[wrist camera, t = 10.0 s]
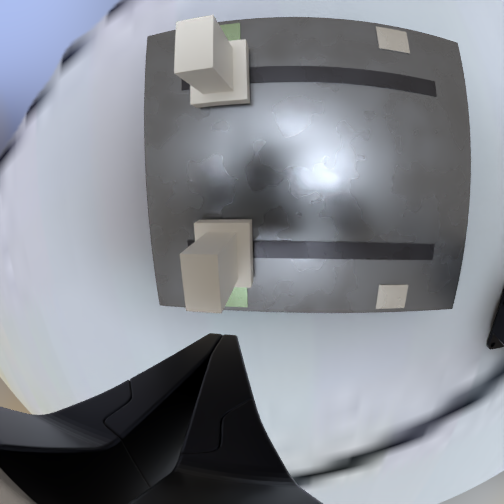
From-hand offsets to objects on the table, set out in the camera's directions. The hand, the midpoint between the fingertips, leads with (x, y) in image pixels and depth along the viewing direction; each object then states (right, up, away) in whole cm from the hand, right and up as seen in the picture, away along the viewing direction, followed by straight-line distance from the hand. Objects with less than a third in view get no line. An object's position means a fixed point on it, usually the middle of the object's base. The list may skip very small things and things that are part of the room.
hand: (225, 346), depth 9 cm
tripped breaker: (-1, +3, +8) cm, 9 cm away
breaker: (-1, +13, +5) cm, 14 cm away
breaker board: (+5, +8, +8) cm, 13 cm away
